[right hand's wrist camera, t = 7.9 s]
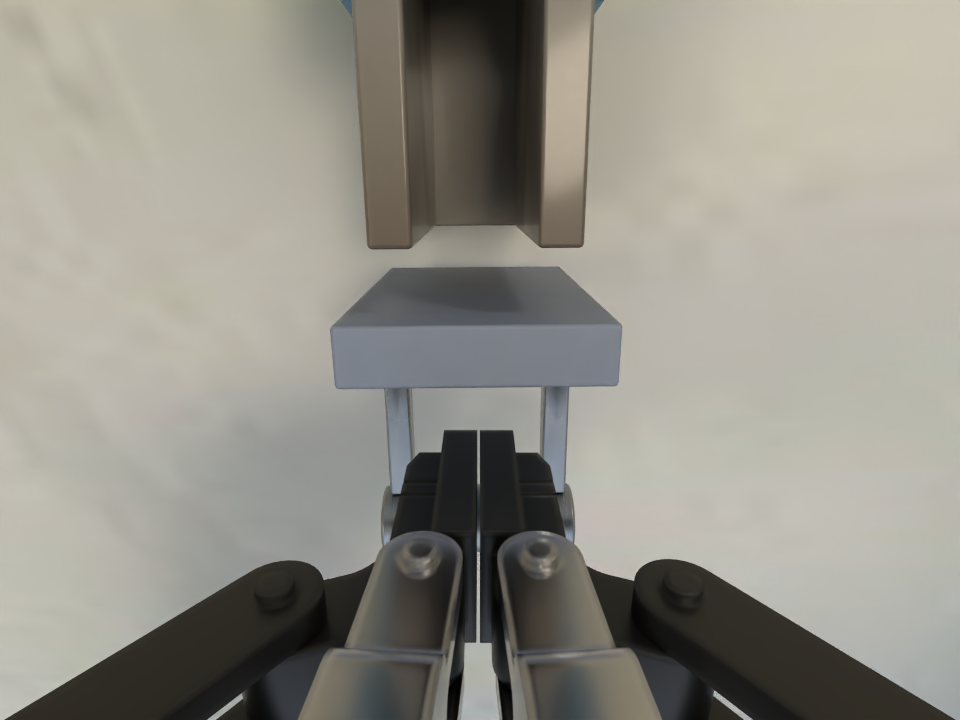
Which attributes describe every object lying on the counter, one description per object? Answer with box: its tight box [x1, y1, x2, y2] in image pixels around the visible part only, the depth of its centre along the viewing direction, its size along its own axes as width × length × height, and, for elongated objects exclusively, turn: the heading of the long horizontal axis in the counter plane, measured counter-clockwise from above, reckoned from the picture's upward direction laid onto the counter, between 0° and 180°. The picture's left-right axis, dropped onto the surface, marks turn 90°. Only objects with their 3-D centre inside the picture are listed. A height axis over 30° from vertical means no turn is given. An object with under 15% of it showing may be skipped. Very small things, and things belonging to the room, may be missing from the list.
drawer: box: [330, 0, 622, 552], centre depth 12 cm, size 24×5×8 cm, turn 0°
